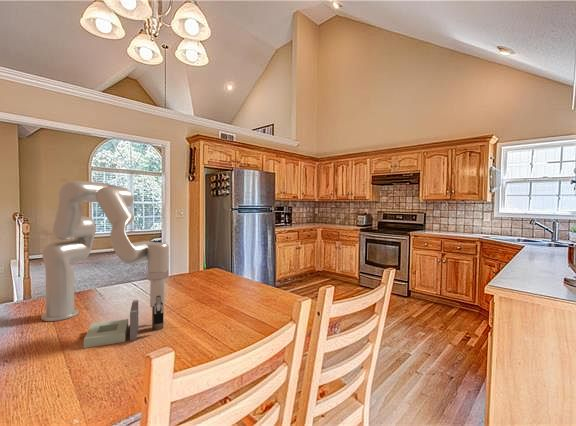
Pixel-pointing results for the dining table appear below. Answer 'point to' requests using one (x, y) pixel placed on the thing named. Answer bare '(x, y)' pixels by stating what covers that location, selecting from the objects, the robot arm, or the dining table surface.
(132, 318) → the low wall
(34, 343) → the dining table surface
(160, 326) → the walnut peg
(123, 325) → the socket block
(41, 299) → the dining table surface
